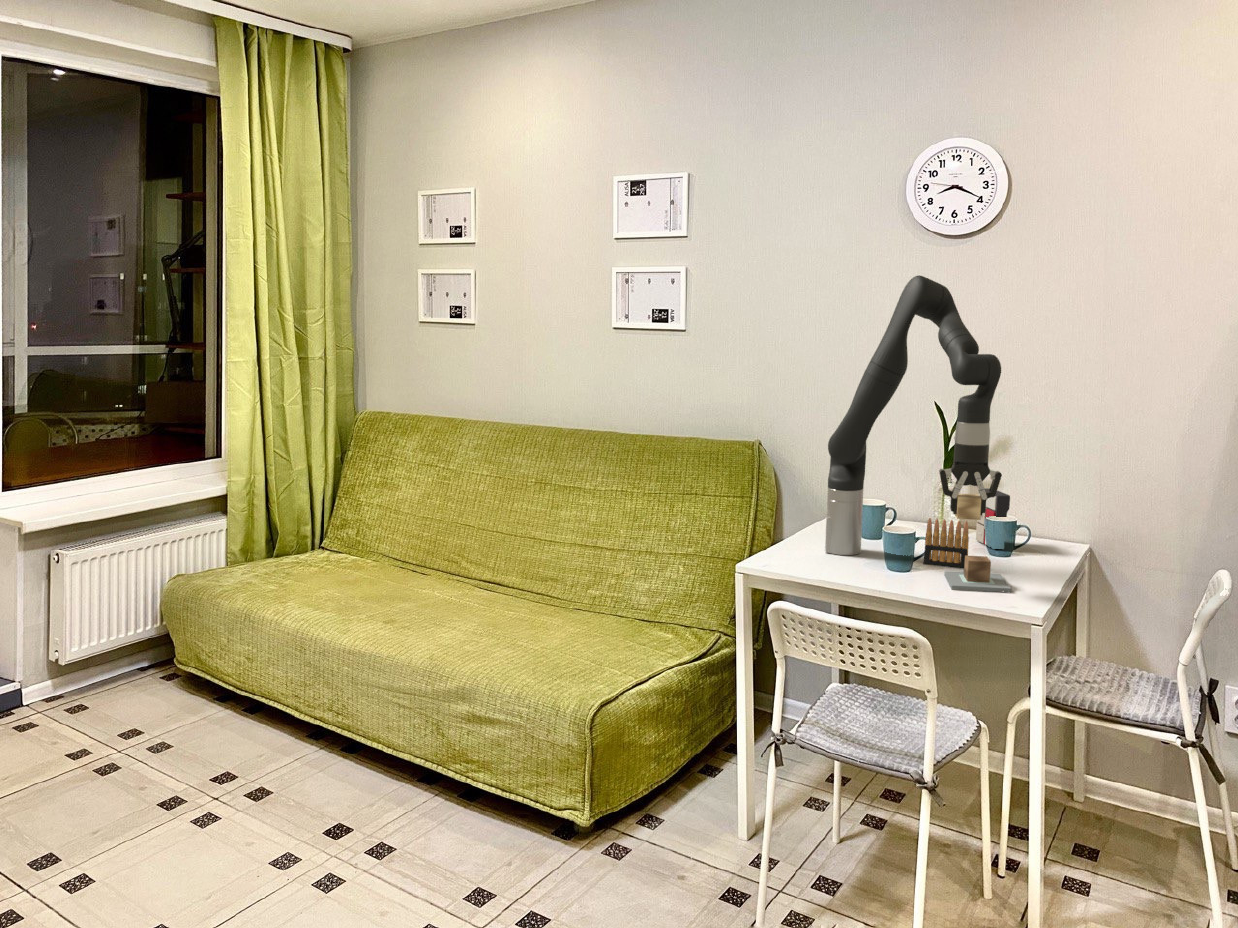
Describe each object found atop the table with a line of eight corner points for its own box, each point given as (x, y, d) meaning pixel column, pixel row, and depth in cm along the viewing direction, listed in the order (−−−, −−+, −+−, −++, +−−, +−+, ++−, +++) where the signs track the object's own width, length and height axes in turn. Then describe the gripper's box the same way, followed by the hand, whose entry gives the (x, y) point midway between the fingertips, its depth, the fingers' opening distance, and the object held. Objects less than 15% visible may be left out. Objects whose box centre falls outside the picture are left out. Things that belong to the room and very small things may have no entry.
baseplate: (951, 589, 235) (951, 585, 234) (944, 575, 247) (944, 570, 247) (1010, 592, 232) (1010, 587, 232) (1000, 577, 245) (1000, 573, 245)
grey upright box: (974, 541, 283) (977, 488, 281) (988, 540, 283) (992, 488, 281) (991, 550, 272) (994, 495, 270) (1006, 550, 273) (1010, 495, 270)
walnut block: (967, 581, 237) (968, 560, 237) (963, 575, 242) (965, 555, 242) (989, 582, 237) (990, 561, 236) (985, 576, 242) (987, 556, 241)
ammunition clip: (968, 567, 255) (970, 520, 253) (967, 569, 253) (970, 522, 251) (924, 562, 259) (926, 516, 257) (923, 564, 258) (925, 518, 256)
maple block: (957, 518, 233) (958, 497, 232) (954, 514, 238) (955, 493, 237) (980, 519, 232) (981, 498, 231) (977, 515, 237) (978, 494, 236)
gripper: (940, 442, 230) (936, 516, 232) (1007, 444, 227) (1002, 519, 229) (937, 438, 237) (933, 509, 240) (1002, 440, 234) (997, 512, 237)
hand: (967, 513), depth 235 cm, fingers closed on maple block, 5 cm apart
